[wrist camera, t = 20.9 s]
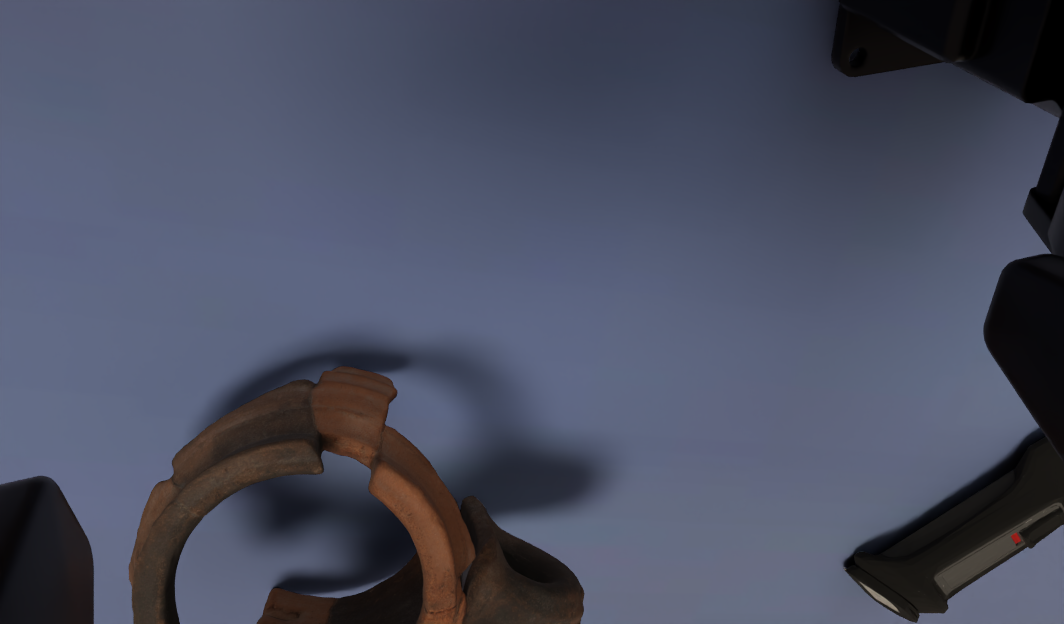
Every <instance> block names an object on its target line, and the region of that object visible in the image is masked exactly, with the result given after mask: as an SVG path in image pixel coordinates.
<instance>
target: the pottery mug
mask: <svg viewBox="0 0 1064 624" xmlns="http://www.w3.org/2000/svg"><path fill="white" fill-rule="evenodd" d="M396 396H397V390H396V389H395V388H394V386H393V383H392V381H391V380H390V379H389V378H387V377H385V376H382V375H379V374H376V373H373V372H369V371H365V370H360V369H356V368H353V367H346V366H341V367H338V368H335V369H334V370H332V371H324V372H323V373H322V375H321V377H320V380H319V382H318V383H317V384H315V383H313V382H312V381H309V380H296V381H292V382H290V383H288V384H286V385H284V386H282V387H279V388H277V389H275V390H272V391H270V392H267V393H265V394H263V395H261V396H259V397H258V398H256V399H254V400H252V401H250V402H248V403H246V404H244V405H242V406H241V407H239V408H237V409H236V410H234V411H232V412H230V413H228V414H226V415H225V416H223V417H222V418H220V419H219V420H217V421H216V422H214V423H213V424H211V425H210V426H208V427H207V428H206V429H205V430H203V431H202V432H201V433H200V434H199V435H198V436H197V437H196V438H194V439H193V440H192V441H190V442H189V443H188V444H187V445H186V446H184V447H183V448H182V449H181V450H180V451H179V452H178V453H177V454H176V455H175V457H174V459H173V460H172V465H173V468H174V474H173V476H172V477H171V478H170V479H169V480H165V481H161V482H159V483H158V484H157V485H156V486H155V487H154V488H153V490H152V492H151V494H150V497H149V499H148V502H147V504H146V506H145V508H144V511H143V514H142V518H141V522H140V526H139V528H138V532H137V539H136V542H135V546H134V550H133V553H132V557H131V562H130V564H129V580H130V582H131V585H132V608H133V612H134V624H180V622H179V617H178V613H177V608H176V602H175V574H176V569H177V564H178V561H179V558H180V555H181V552H182V550H183V547H184V544H185V542H186V540H187V539H188V537H189V535H190V534H191V532H192V531H193V530H194V528H195V527H196V526H197V525H198V523H199V522H200V521H201V520H202V518H203V517H204V516H205V515H206V514H208V513H209V512H210V511H211V510H212V509H213V508H215V507H216V506H217V505H218V504H219V503H220V502H222V501H223V500H224V499H226V498H227V497H229V496H230V495H232V494H234V493H236V492H237V491H239V490H241V489H243V488H245V487H247V486H249V485H252V484H254V483H257V482H261V481H264V480H268V479H271V478H276V477H280V476H287V475H297V474H311V475H316V474H321V473H323V471H324V468H323V463H322V459H321V454H322V452H323V451H324V450H326V451H328V452H332V453H335V454H338V455H341V456H348V457H351V458H354V459H356V460H357V461H359V462H360V463H362V464H364V465H365V466H367V467H368V468H370V469H371V479H370V482H369V488H368V489H369V492H370V493H371V494H372V495H374V496H375V497H376V498H377V499H379V500H380V501H381V502H382V503H383V504H384V505H385V506H386V507H387V508H389V509H390V510H391V511H392V512H393V513H394V515H395V516H396V517H397V518H398V519H399V520H400V521H401V522H402V523H403V525H404V526H405V527H406V529H407V530H408V532H409V533H410V536H411V538H412V540H413V542H414V544H415V547H416V549H417V552H416V554H415V555H414V557H413V558H412V559H411V560H410V561H409V562H408V563H407V564H406V565H405V566H404V567H403V568H402V569H401V570H400V571H399V572H397V573H396V574H395V575H393V576H392V577H390V578H388V579H387V580H385V581H383V582H381V583H379V584H378V585H376V586H374V587H373V588H371V589H369V590H367V591H365V592H362V593H359V594H356V595H352V596H346V597H342V598H324V597H316V596H310V595H301V594H297V593H293V592H290V591H286V590H284V589H281V588H274V589H272V590H271V592H270V594H269V596H268V599H267V602H266V604H265V607H264V611H263V615H262V617H261V618H260V619H259V620H258V622H257V624H580V621H581V617H582V615H583V612H584V607H583V599H584V590H583V588H582V587H581V585H580V583H579V581H578V579H577V577H576V576H575V574H574V573H573V572H572V571H571V570H570V569H569V568H568V567H567V566H566V565H565V564H563V563H562V562H560V561H559V560H558V559H556V558H554V557H553V556H551V555H550V554H548V553H546V552H544V551H543V550H541V549H539V548H537V547H535V546H533V545H531V544H529V543H527V542H525V541H523V540H521V539H519V538H517V537H515V536H513V535H511V534H509V533H507V532H505V531H504V530H502V529H501V528H499V527H498V526H497V525H496V523H495V522H494V521H493V520H492V519H491V517H490V516H489V514H488V513H487V511H486V508H485V507H484V506H483V504H482V503H481V502H480V501H479V500H478V499H477V498H476V497H474V496H468V497H466V498H464V499H463V500H462V505H461V510H459V508H458V505H457V502H456V501H455V500H454V498H453V496H452V495H451V493H450V492H449V491H448V489H447V488H446V486H445V485H444V483H443V482H442V480H441V479H440V478H439V476H438V475H437V472H436V471H435V469H434V468H433V467H432V465H431V464H430V462H429V461H428V460H427V459H426V457H425V456H424V455H423V454H422V453H421V452H420V451H419V450H418V449H417V448H416V447H415V446H414V445H413V444H412V443H411V442H410V441H408V440H407V439H406V438H405V437H404V436H403V435H401V434H400V433H398V432H397V431H396V430H395V429H393V428H391V427H388V426H386V425H385V421H386V417H387V413H388V406H389V403H390V402H391V401H392V400H393V399H394V398H395V397H396Z"/></svg>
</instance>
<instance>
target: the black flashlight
mask: <svg viewBox="0 0 1064 624" xmlns="http://www.w3.org/2000/svg"><path fill="white" fill-rule="evenodd" d="M1061 525H1064V462H1063V461H1062V459H1061V458H1060V456H1059V455H1058V454H1057V452H1056V451H1055V449H1054V448H1053V446H1052V445H1051V443H1050V442H1049V440H1048V439H1047V437H1045V438H1043V439H1041V440H1039V441H1037V442H1036V443H1034V444H1032V445H1031V446H1029V447H1028V449H1027V450H1026V452H1025V453H1024V455H1023V457H1022V458H1021V460H1020V461H1019V463H1018V465H1017V466H1016V468H1015V470H1012V471H1010V472H1009V473H1007V474H1006V475H1004V476H1003V477H1001V478H999V479H998V480H996V481H995V482H993V483H992V484H990V485H988V486H987V487H985V488H984V489H982V490H981V491H979V492H977V493H976V494H974V495H973V496H971V497H970V498H968V499H966V500H965V501H963V502H962V503H960V504H959V505H957V506H955V507H954V508H952V509H951V510H949V511H948V512H946V513H944V514H943V515H941V516H940V517H938V518H937V519H935V520H933V521H932V522H930V523H929V524H927V525H926V526H924V527H922V528H921V529H919V530H918V531H916V532H915V533H913V534H911V535H910V536H908V537H907V538H905V539H904V540H902V541H900V542H899V543H897V544H896V545H894V546H893V547H891V548H889V549H888V550H886V551H884V552H882V553H880V554H879V555H872V554H869V553H866V552H858V553H857V554H855V555H854V559H855V564H856V566H855V565H852V566H850V567H849V568H847V569H846V568H844V569H845V571H846V572H847V573H848V574H849V575H850V576H851V577H852V579H853V580H854V581H855V582H856V583H857V584H858V585H859V586H860V587H861V588H862V589H863V590H864V591H865V592H866V593H867V594H868V595H869V596H870V597H871V598H873V599H874V600H875V601H876V602H878V603H879V604H881V605H882V606H884V607H885V608H887V609H889V610H890V611H892V612H894V613H895V614H897V615H899V616H901V617H903V618H905V619H907V620H909V621H912V622H916V623H917V621H918V618H919V616H920V615H919V613H945V612H946V611H947V609H948V605H947V600H948V599H950V598H951V597H952V596H954V595H955V594H956V593H958V592H959V591H961V590H962V589H964V588H965V587H967V586H968V585H970V584H971V583H973V582H974V581H976V580H977V579H979V578H980V577H982V576H984V575H985V574H987V573H988V572H990V571H991V570H993V569H994V568H996V567H997V566H999V565H1000V564H1002V563H1004V562H1005V561H1007V560H1008V559H1010V558H1011V557H1013V556H1014V555H1016V554H1017V553H1019V552H1020V551H1022V550H1024V549H1025V548H1027V547H1029V548H1033V547H1034V546H1035V545H1036V544H1037V543H1038V542H1039V541H1041V540H1042V539H1044V538H1045V537H1046V536H1048V535H1049V534H1050V533H1052V532H1053V531H1054V530H1056V529H1057V528H1059V527H1060V526H1061Z"/></svg>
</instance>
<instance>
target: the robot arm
mask: <svg viewBox="0 0 1064 624" xmlns="http://www.w3.org/2000/svg"><path fill="white" fill-rule="evenodd" d="M839 2H840V6H839V12H838V18H837V24H836V31H835V37H834V43H833V49H832V64H833V66H834V68H835V69H837V70H839V71H840V72H842V73H843V74H845V75H846V76H848V77H858V76H864V75H870V74H876V73H882V72H888V71H894V70H900V69H906V68H912V67H918V66H924V65H930V64H936V63H942V62H945V63H951V64H953V65H955V66H957V67H959V68H960V69H962V70H964V71H966V72H968V73H970V74H972V75H974V76H976V77H978V78H979V79H981V80H983V81H985V82H987V83H989V84H991V85H993V86H995V87H997V88H998V89H1000V90H1002V91H1004V92H1006V93H1008V94H1010V95H1012V96H1014V97H1016V98H1017V99H1019V100H1021V101H1023V102H1025V103H1031V104H1033V105H1035V106H1037V107H1039V108H1041V109H1043V110H1045V111H1047V112H1048V113H1050V114H1052V115H1054V116H1056V117H1058V118H1059V121H1058V124H1057V127H1056V130H1055V133H1054V136H1053V139H1052V142H1051V145H1050V148H1049V151H1048V154H1047V157H1046V160H1045V163H1044V166H1043V169H1042V172H1041V175H1040V178H1039V181H1038V184H1037V187H1034V188H1031V189H1030V191H1029V194H1028V197H1027V200H1026V203H1025V206H1024V209H1023V215H1024V216H1025V218H1026V219H1027V220H1028V222H1029V223H1030V224H1031V226H1032V227H1033V229H1034V230H1035V231H1036V233H1037V234H1038V235H1039V237H1040V238H1041V240H1042V241H1043V242H1044V244H1045V245H1046V246H1047V248H1048V249H1049V251H1050V252H1051V253H1052V254H1040V255H1036V256H1031V257H1027V258H1022V259H1018V260H1014V261H1012V262H1010V263H1008V264H1007V266H1006V267H1005V268H1004V269H1003V270H1002V272H1001V275H1000V277H999V280H998V283H997V286H996V289H995V292H994V295H993V298H992V301H991V304H990V307H989V310H988V313H987V316H986V319H985V323H984V328H983V334H984V340H985V343H986V346H987V348H988V350H989V351H990V353H991V355H992V356H993V358H994V359H995V361H996V362H997V364H998V365H999V367H1000V368H1001V370H1002V371H1003V373H1004V374H1005V376H1006V377H1007V379H1008V380H1009V382H1010V383H1011V385H1012V386H1013V388H1014V389H1015V391H1016V392H1017V394H1018V395H1019V397H1020V398H1021V400H1022V401H1023V403H1024V404H1025V406H1026V407H1027V409H1028V410H1029V412H1030V413H1031V415H1032V416H1033V418H1034V419H1035V421H1036V422H1037V424H1038V425H1039V427H1040V428H1041V430H1042V431H1043V433H1044V434H1045V436H1046V437H1047V439H1048V440H1049V442H1050V443H1051V445H1052V446H1053V448H1054V449H1055V451H1056V452H1057V454H1058V455H1059V456H1060V458H1061V459H1062V461H1063V462H1064V0H839ZM857 48H858V49H859V51H858V53H857V56H856V57H855V58H854V59H853V60H852V61H850V62H849V58H850V55H851V53H852V52H853V51H854V50H855V49H857ZM0 624H94V566H93V556H92V551H91V547H90V544H89V541H88V538H87V536H86V534H85V533H84V531H83V529H82V527H81V525H80V524H79V522H78V520H77V518H76V517H75V515H74V513H73V511H72V509H71V508H70V506H69V504H68V502H67V500H66V499H65V497H64V495H63V493H62V491H61V490H60V488H59V486H58V485H57V484H56V482H55V481H53V480H52V479H51V478H49V477H46V476H37V477H32V478H28V479H23V480H19V481H14V482H10V483H5V484H1V485H0Z"/></svg>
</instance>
